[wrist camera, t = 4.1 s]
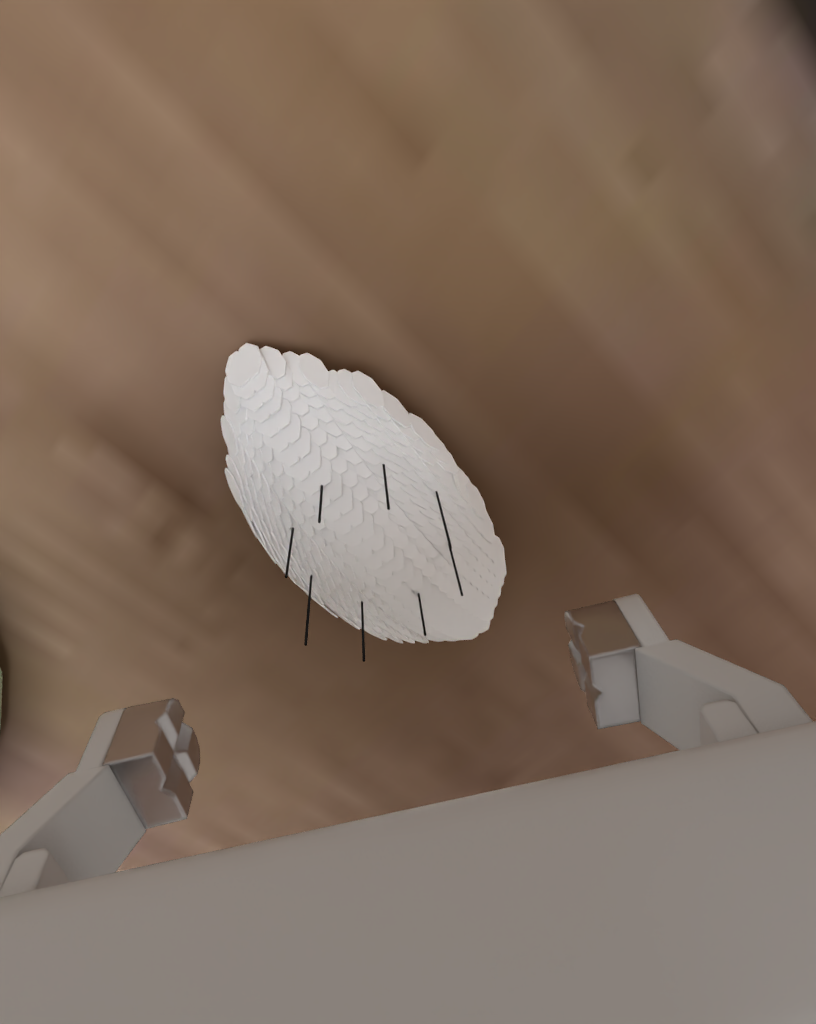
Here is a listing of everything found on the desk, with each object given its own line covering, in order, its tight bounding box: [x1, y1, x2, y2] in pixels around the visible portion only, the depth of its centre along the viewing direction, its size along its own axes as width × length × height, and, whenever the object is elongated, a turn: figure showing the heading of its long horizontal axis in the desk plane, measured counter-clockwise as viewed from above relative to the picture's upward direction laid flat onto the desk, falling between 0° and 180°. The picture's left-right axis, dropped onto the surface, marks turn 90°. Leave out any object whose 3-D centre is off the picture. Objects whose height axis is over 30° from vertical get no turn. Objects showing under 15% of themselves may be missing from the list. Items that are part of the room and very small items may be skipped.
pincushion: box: [220, 343, 507, 662], centre depth 20 cm, size 12×6×6 cm, turn 36°
